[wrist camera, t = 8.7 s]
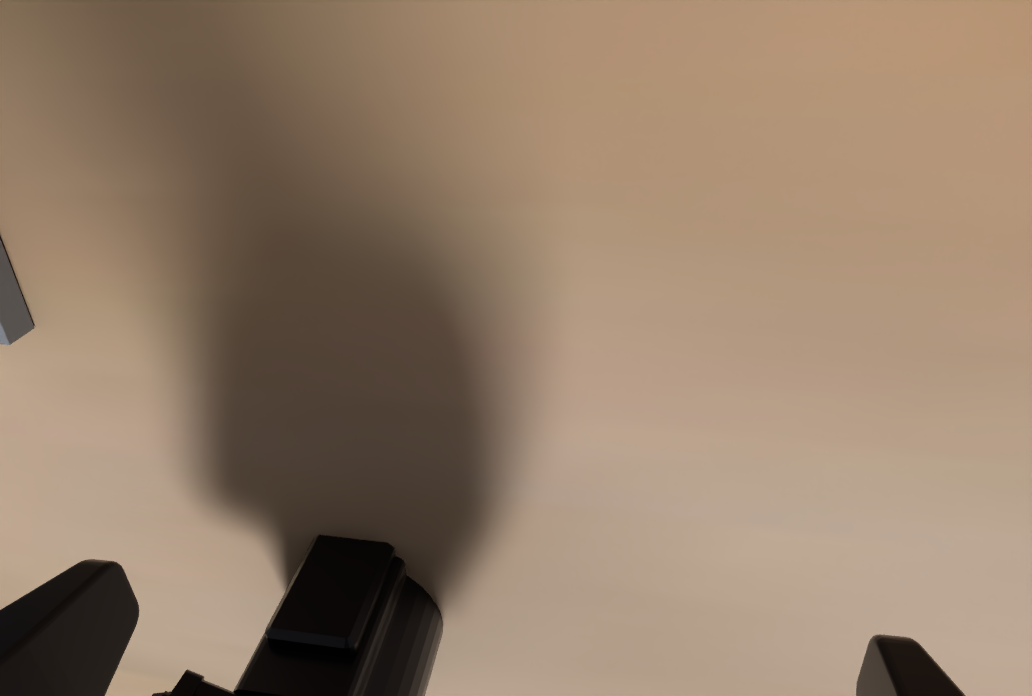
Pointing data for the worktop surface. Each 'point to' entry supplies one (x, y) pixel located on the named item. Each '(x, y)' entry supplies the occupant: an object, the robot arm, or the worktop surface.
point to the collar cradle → (11, 305)
